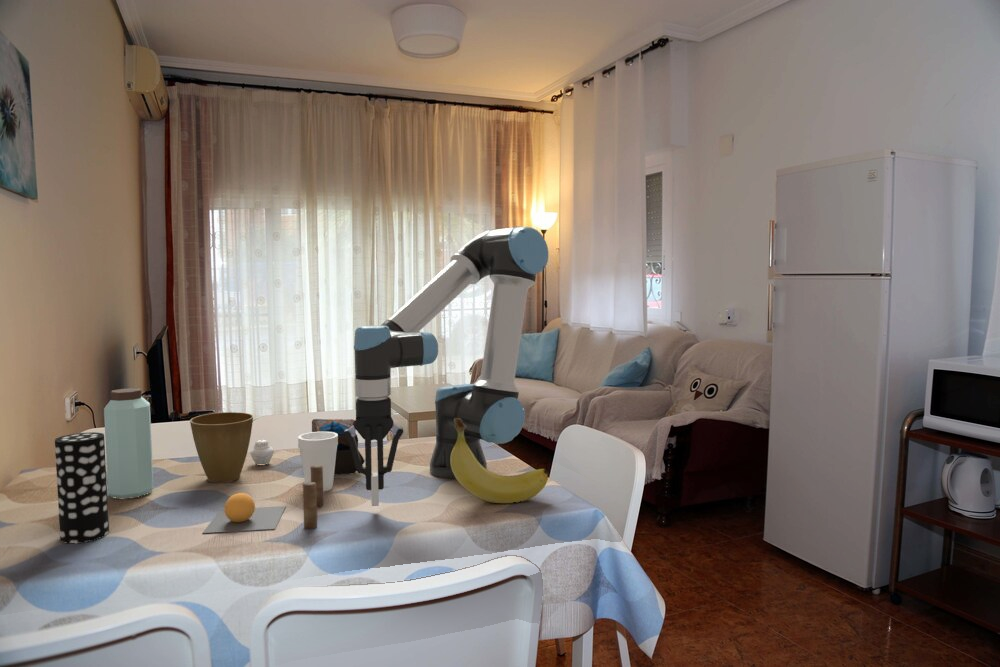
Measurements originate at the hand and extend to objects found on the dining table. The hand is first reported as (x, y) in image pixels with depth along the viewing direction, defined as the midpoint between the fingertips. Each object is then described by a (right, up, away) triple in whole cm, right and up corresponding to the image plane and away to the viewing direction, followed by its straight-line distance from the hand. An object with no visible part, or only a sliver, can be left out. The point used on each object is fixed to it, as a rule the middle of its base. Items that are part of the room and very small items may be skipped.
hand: (375, 503), depth 147 cm
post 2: (-14, -2, +5) cm, 15 cm away
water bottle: (-61, -1, +14) cm, 62 cm away
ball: (-28, +1, -5) cm, 28 cm away
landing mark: (-27, -2, -4) cm, 27 cm away
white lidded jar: (-39, +1, +39) cm, 55 cm away
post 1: (-12, -3, -8) cm, 15 cm away
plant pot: (-44, 0, +26) cm, 50 cm away
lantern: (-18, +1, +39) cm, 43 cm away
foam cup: (-17, -1, +18) cm, 25 cm away
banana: (+27, -2, +7) cm, 28 cm away
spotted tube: (-56, -3, -13) cm, 57 cm away
